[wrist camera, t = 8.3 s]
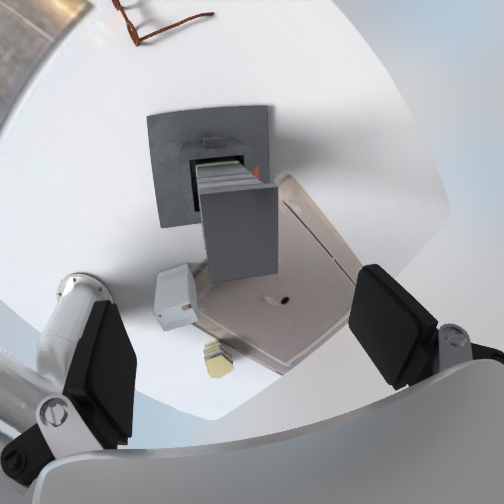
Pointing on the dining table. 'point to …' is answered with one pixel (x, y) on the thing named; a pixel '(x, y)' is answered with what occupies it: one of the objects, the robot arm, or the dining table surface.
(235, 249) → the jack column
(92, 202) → the dining table surface
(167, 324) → the skincare box
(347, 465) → the robot arm
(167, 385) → the dining table surface
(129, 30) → the glasses
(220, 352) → the beige layered block
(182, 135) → the base
